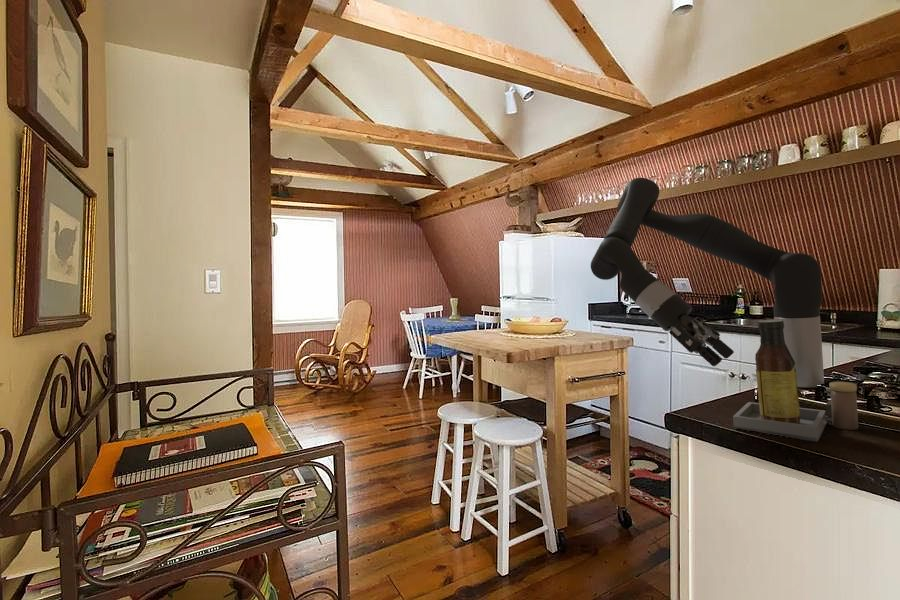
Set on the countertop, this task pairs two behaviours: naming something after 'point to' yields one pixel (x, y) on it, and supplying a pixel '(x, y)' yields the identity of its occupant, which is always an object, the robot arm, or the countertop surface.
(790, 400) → the sauce bottle
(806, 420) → the tray
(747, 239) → the robot arm
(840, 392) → the lidded beige canister
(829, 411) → the tray
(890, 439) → the countertop surface
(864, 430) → the countertop surface
